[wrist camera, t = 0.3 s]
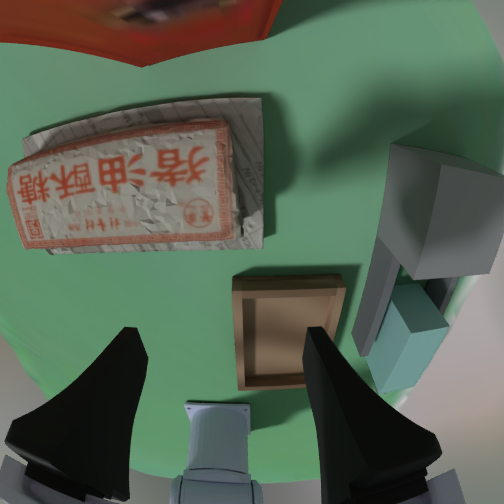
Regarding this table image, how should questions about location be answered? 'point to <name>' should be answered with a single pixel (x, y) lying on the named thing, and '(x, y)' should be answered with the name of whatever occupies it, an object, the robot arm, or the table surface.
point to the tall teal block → (405, 339)
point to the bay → (430, 230)
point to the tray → (280, 325)
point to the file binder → (136, 26)
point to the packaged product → (145, 180)
